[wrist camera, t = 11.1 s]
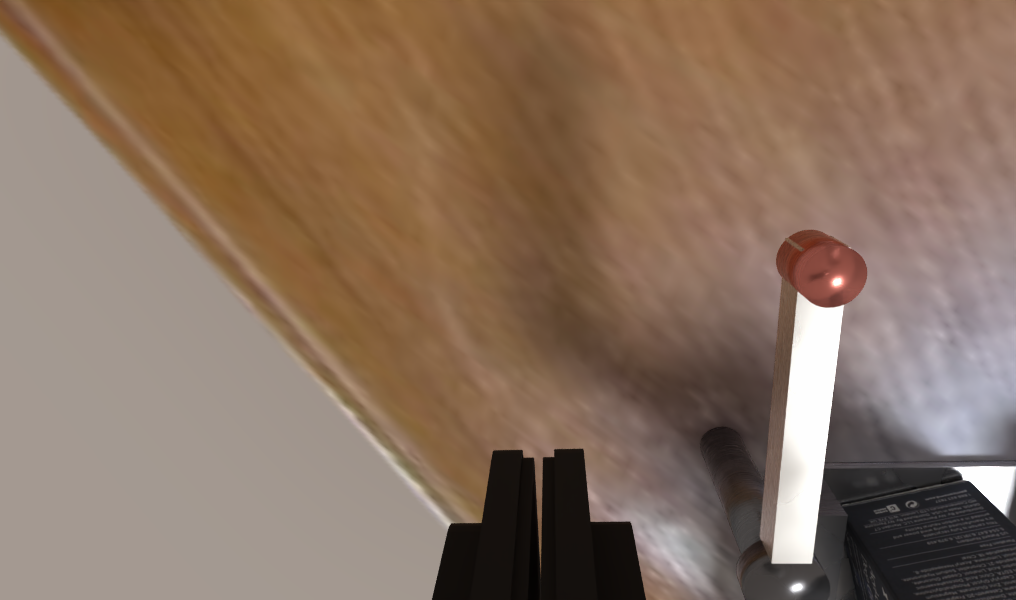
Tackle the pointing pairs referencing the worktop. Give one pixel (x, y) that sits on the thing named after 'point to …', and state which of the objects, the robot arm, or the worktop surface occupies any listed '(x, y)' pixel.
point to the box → (931, 546)
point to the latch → (800, 416)
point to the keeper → (840, 495)
